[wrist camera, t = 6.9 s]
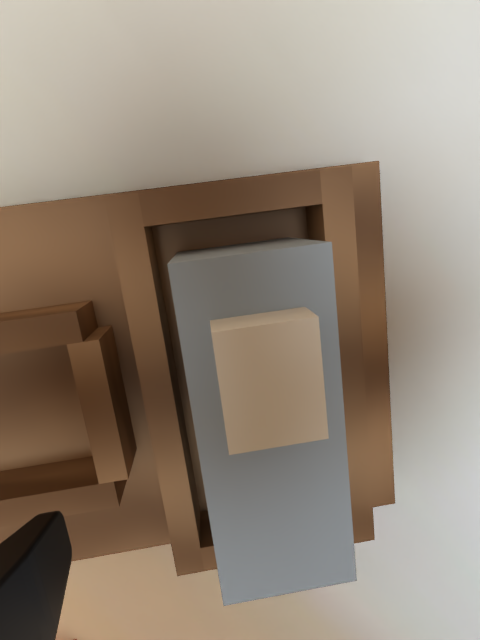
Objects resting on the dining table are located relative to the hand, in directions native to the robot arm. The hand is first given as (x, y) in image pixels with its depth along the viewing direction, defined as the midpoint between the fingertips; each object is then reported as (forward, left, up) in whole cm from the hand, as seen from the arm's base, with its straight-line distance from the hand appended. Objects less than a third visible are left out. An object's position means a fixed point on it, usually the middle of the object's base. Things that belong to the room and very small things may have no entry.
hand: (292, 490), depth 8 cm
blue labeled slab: (0, 0, -8) cm, 8 cm away
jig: (0, +4, -9) cm, 10 cm away
